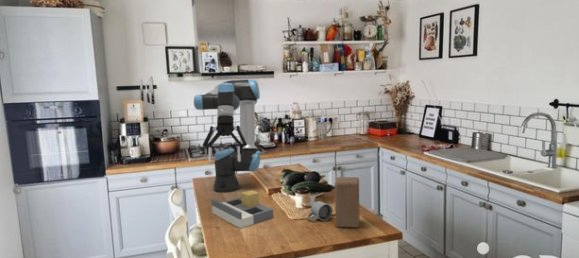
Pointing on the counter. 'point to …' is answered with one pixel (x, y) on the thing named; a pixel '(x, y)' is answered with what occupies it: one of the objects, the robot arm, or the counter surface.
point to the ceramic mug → (320, 211)
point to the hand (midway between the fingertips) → (224, 161)
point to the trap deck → (241, 212)
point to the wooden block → (347, 202)
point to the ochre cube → (250, 198)
